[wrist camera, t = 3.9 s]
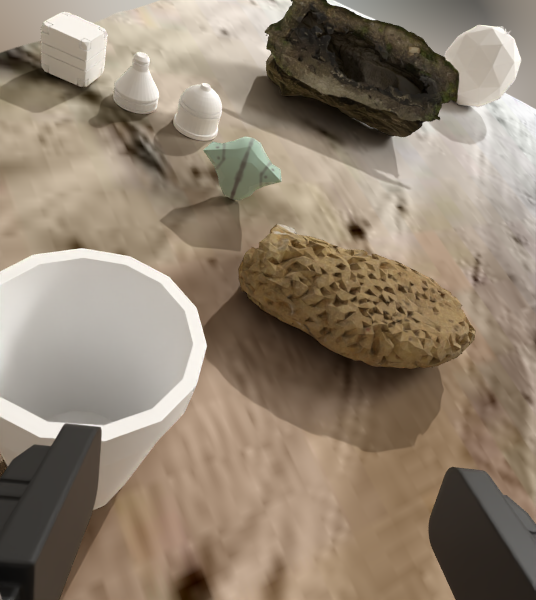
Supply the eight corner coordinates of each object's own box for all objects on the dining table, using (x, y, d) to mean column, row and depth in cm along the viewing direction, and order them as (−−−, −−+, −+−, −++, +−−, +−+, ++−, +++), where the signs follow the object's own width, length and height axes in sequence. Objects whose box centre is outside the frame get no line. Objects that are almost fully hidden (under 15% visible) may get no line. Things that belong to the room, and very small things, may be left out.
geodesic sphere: (439, 37, 100) (479, -13, 86) (500, 66, 101) (550, 21, 87) (417, 101, 98) (455, 60, 84) (480, 130, 99) (527, 94, 85)
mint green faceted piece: (190, 193, 49) (206, 134, 44) (200, 172, 52) (217, 115, 47) (264, 222, 50) (288, 167, 45) (270, 200, 53) (293, 147, 48)
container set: (40, 74, 54) (40, 22, 50) (63, 58, 57) (65, 9, 54) (210, 146, 56) (222, 102, 52) (221, 126, 59) (234, 84, 56)
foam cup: (160, 398, 33) (205, 269, 24) (152, 545, 27) (208, 446, 18) (6, 385, 30) (-7, 232, 21) (-41, 546, 24) (-88, 430, 15)
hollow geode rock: (404, 173, 78) (444, 88, 78) (438, 153, 66) (485, 52, 66) (247, 94, 76) (287, 6, 76) (250, 57, 63) (299, -49, 63)
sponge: (218, 321, 41) (449, 430, 36) (236, 238, 37) (499, 349, 32) (278, 266, 52) (462, 345, 47) (297, 198, 48) (501, 276, 43)
